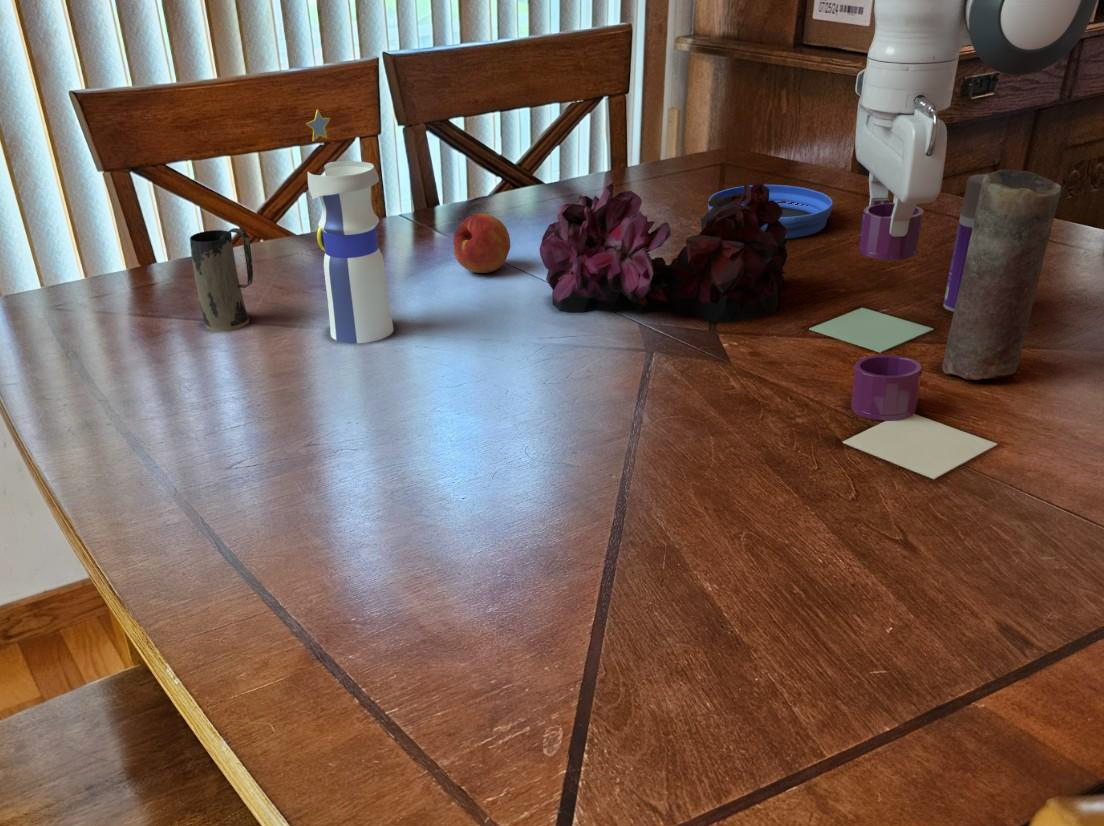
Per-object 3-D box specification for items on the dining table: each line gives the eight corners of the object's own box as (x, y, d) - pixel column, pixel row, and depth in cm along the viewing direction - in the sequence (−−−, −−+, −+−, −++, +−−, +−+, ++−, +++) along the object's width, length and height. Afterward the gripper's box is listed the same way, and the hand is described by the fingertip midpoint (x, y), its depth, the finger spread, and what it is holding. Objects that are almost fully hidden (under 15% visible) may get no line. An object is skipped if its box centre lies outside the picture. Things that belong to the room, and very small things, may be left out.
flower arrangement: (774, 273, 146) (786, 155, 138) (801, 326, 130) (817, 196, 121) (541, 279, 148) (538, 163, 139) (539, 333, 132) (536, 205, 123)
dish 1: (928, 250, 122) (935, 209, 119) (894, 264, 119) (900, 221, 116) (881, 239, 126) (886, 199, 123) (847, 252, 123) (852, 211, 120)
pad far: (933, 331, 127) (934, 328, 127) (880, 354, 122) (881, 351, 122) (862, 309, 134) (862, 307, 133) (808, 330, 129) (809, 328, 128)
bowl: (682, 227, 165) (683, 203, 163) (755, 201, 175) (757, 178, 173) (782, 250, 154) (784, 224, 152) (853, 221, 164) (857, 197, 162)
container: (962, 317, 130) (988, 186, 122) (934, 305, 134) (958, 177, 125) (992, 310, 132) (1020, 180, 123) (964, 298, 135) (989, 171, 127)
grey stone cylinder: (993, 357, 120) (1036, 165, 109) (1031, 383, 114) (1080, 183, 103) (928, 364, 119) (964, 172, 108) (963, 391, 113) (1005, 190, 102)
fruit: (446, 268, 154) (441, 210, 149) (499, 259, 156) (497, 202, 151) (465, 284, 147) (461, 224, 143) (520, 275, 150) (518, 215, 145)
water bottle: (312, 341, 132) (279, 120, 118) (350, 317, 139) (323, 105, 125) (370, 350, 129) (344, 123, 115) (406, 325, 136) (385, 108, 122)
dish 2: (928, 407, 109) (934, 364, 107) (890, 426, 106) (895, 381, 104) (876, 392, 114) (880, 350, 111) (838, 409, 111) (841, 367, 108)
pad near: (997, 446, 103) (997, 443, 102) (934, 481, 98) (934, 478, 98) (905, 413, 109) (906, 410, 109) (842, 444, 104) (842, 441, 104)
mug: (195, 329, 138) (175, 233, 131) (219, 314, 142) (201, 220, 135) (250, 335, 135) (232, 237, 128) (272, 319, 139) (256, 223, 133)
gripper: (973, 106, 104) (945, 252, 112) (910, 70, 121) (890, 199, 129) (905, 109, 104) (883, 254, 112) (852, 72, 121) (836, 201, 129)
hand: (886, 224), depth 121 cm, fingers closed on dish 1, 6 cm apart
